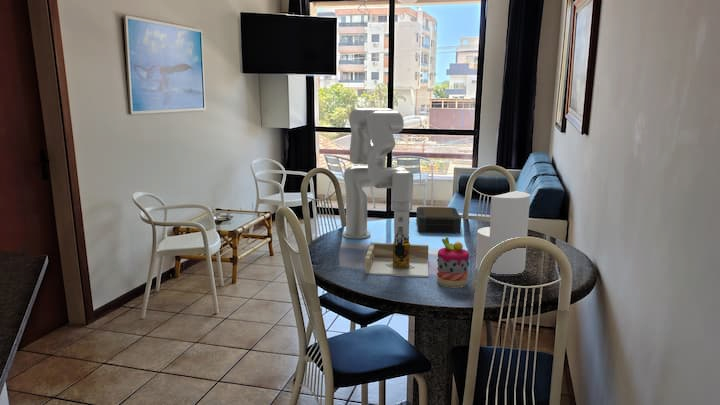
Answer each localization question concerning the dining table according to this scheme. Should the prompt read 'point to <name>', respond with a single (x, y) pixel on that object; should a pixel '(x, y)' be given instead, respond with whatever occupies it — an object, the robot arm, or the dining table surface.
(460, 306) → the dining table surface
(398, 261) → the condiment
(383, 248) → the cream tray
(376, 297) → the dining table surface
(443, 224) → the cash box
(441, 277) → the cake
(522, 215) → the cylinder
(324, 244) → the dining table surface
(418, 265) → the mat
